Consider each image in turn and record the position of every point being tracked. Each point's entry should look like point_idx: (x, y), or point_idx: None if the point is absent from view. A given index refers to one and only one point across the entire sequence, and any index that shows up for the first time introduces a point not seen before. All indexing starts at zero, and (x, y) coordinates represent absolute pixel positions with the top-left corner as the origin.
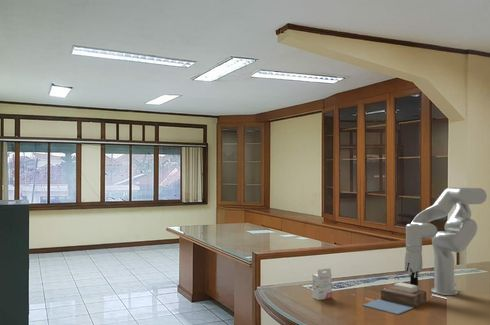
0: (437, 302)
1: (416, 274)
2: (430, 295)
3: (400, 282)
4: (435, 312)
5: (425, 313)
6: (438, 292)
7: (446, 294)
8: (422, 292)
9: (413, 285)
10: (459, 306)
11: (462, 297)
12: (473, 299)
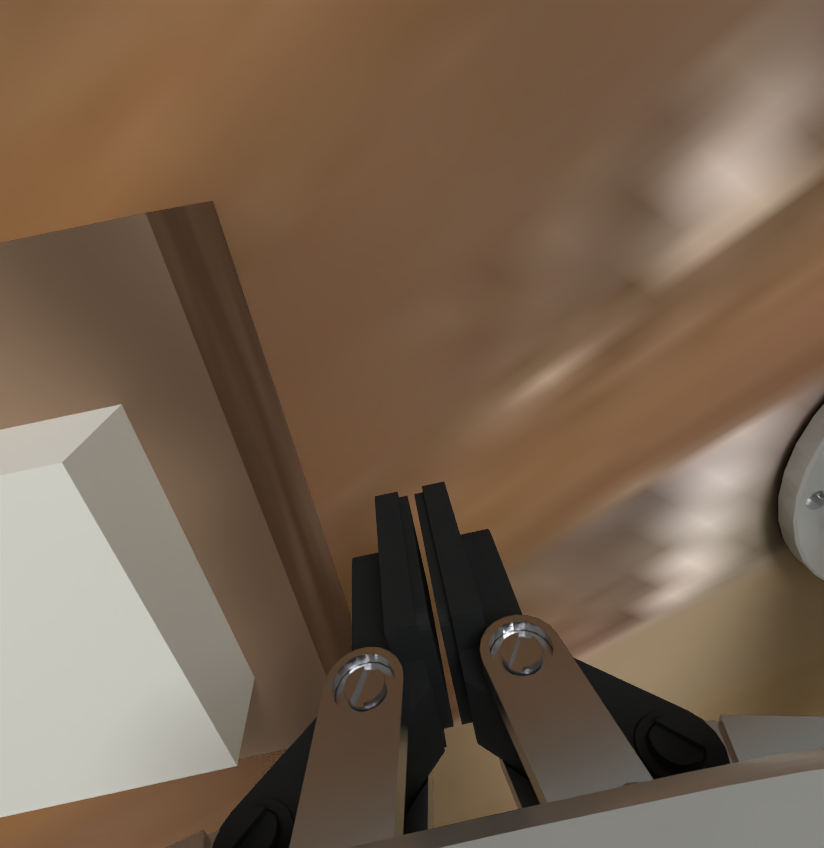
0: (443, 660)
1: (517, 798)
2: (658, 465)
3: (55, 483)
4: (151, 814)
5: (34, 810)
6: (794, 495)
7: (795, 555)
8: (252, 748)
9: (171, 743)
10: (494, 777)
11: (817, 641)
12: (807, 705)
